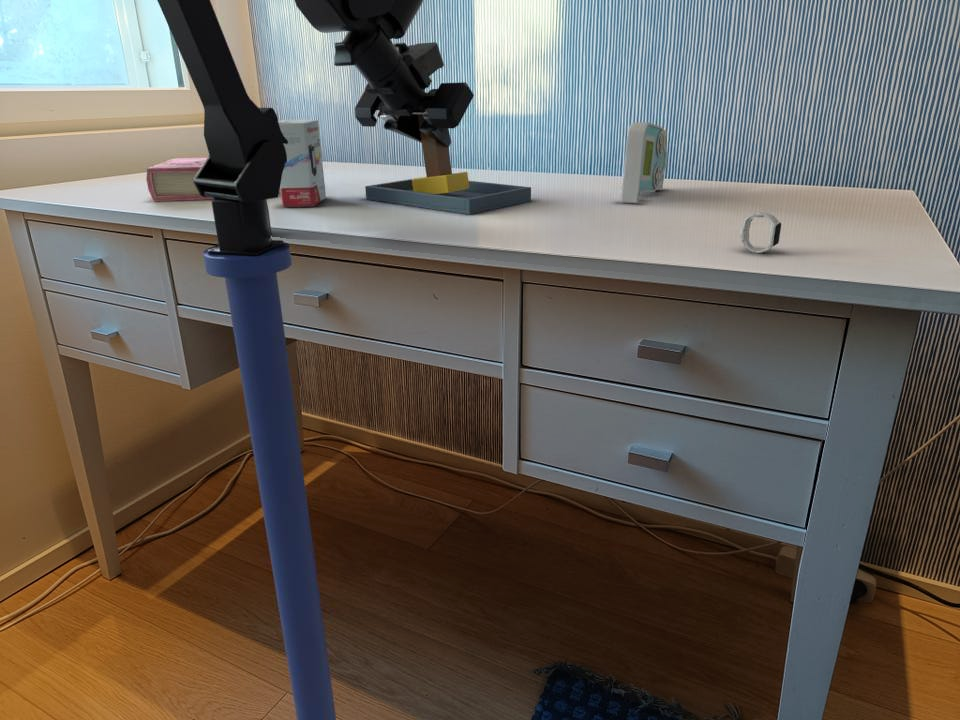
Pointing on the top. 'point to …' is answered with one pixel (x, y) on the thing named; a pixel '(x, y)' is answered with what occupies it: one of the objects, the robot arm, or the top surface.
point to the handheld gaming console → (644, 160)
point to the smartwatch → (773, 234)
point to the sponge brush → (438, 168)
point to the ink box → (302, 164)
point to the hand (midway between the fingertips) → (440, 144)
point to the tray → (451, 196)
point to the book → (175, 180)
